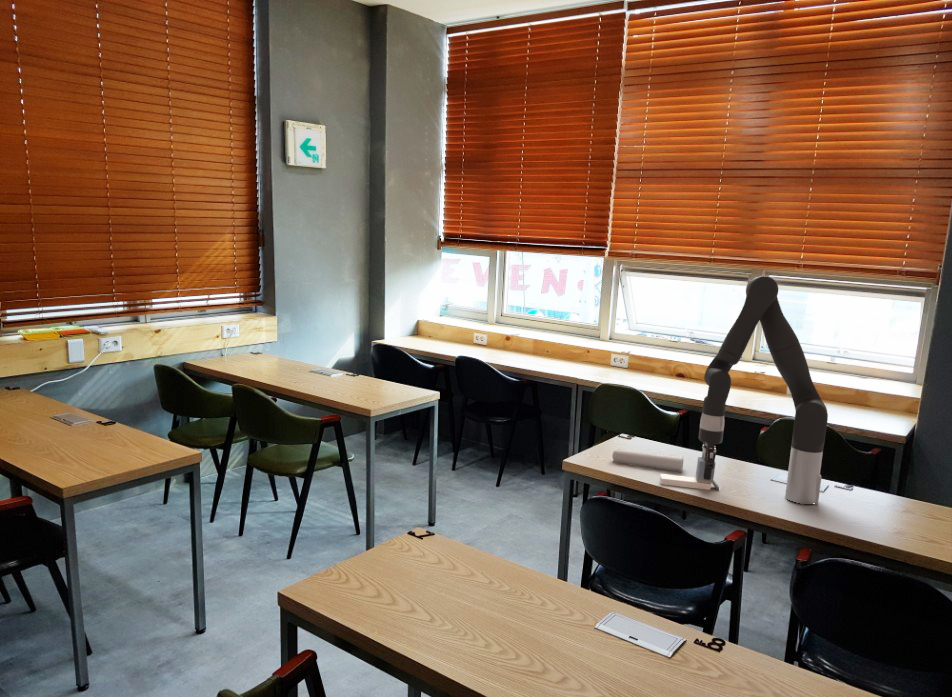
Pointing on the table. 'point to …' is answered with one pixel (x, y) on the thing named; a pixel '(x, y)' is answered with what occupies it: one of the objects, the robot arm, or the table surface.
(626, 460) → the tube
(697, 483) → the board
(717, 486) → the mark
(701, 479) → the block
